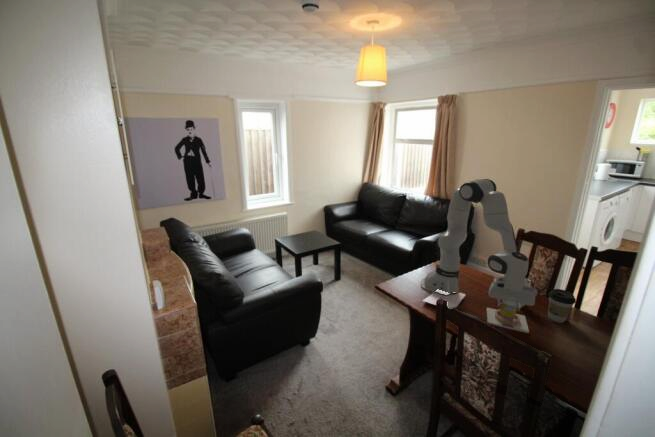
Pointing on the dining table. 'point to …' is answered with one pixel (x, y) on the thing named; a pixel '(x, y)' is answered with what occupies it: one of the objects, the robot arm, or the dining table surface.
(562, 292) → the coffee cup
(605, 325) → the dining table surface
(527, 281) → the beer glass
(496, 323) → the ring socket
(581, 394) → the dining table surface
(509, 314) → the supplement bottle
